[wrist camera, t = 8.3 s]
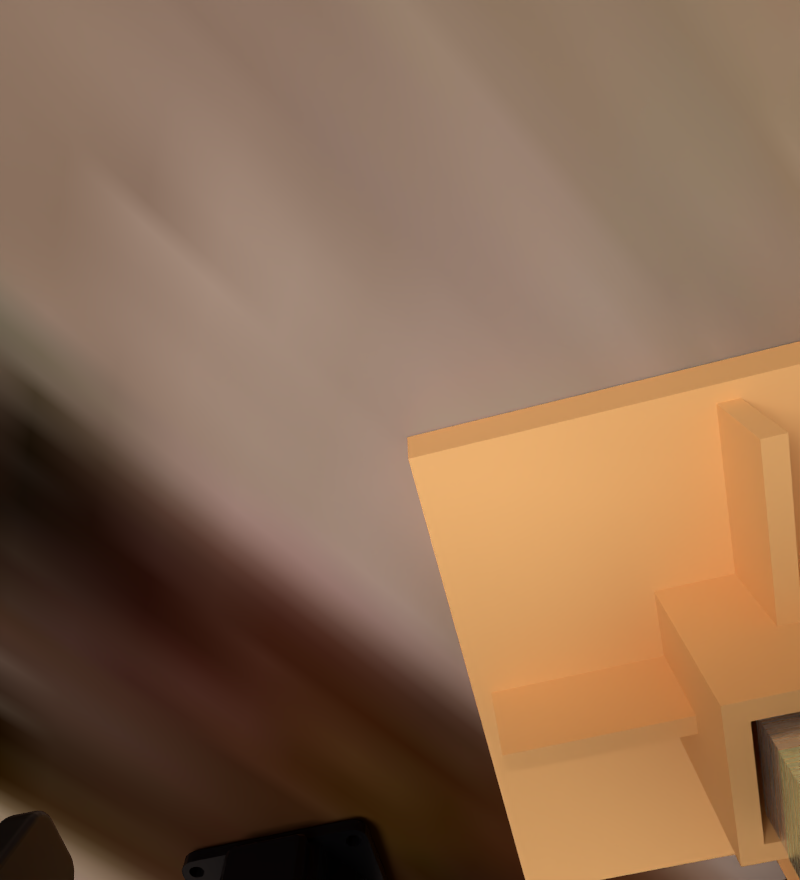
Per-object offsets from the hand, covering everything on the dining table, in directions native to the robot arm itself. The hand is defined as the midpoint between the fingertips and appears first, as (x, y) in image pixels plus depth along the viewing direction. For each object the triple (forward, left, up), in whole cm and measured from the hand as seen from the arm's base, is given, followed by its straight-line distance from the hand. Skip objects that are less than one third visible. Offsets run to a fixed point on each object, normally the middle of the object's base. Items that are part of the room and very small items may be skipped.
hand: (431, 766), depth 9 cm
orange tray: (-9, -8, -13) cm, 17 cm away
